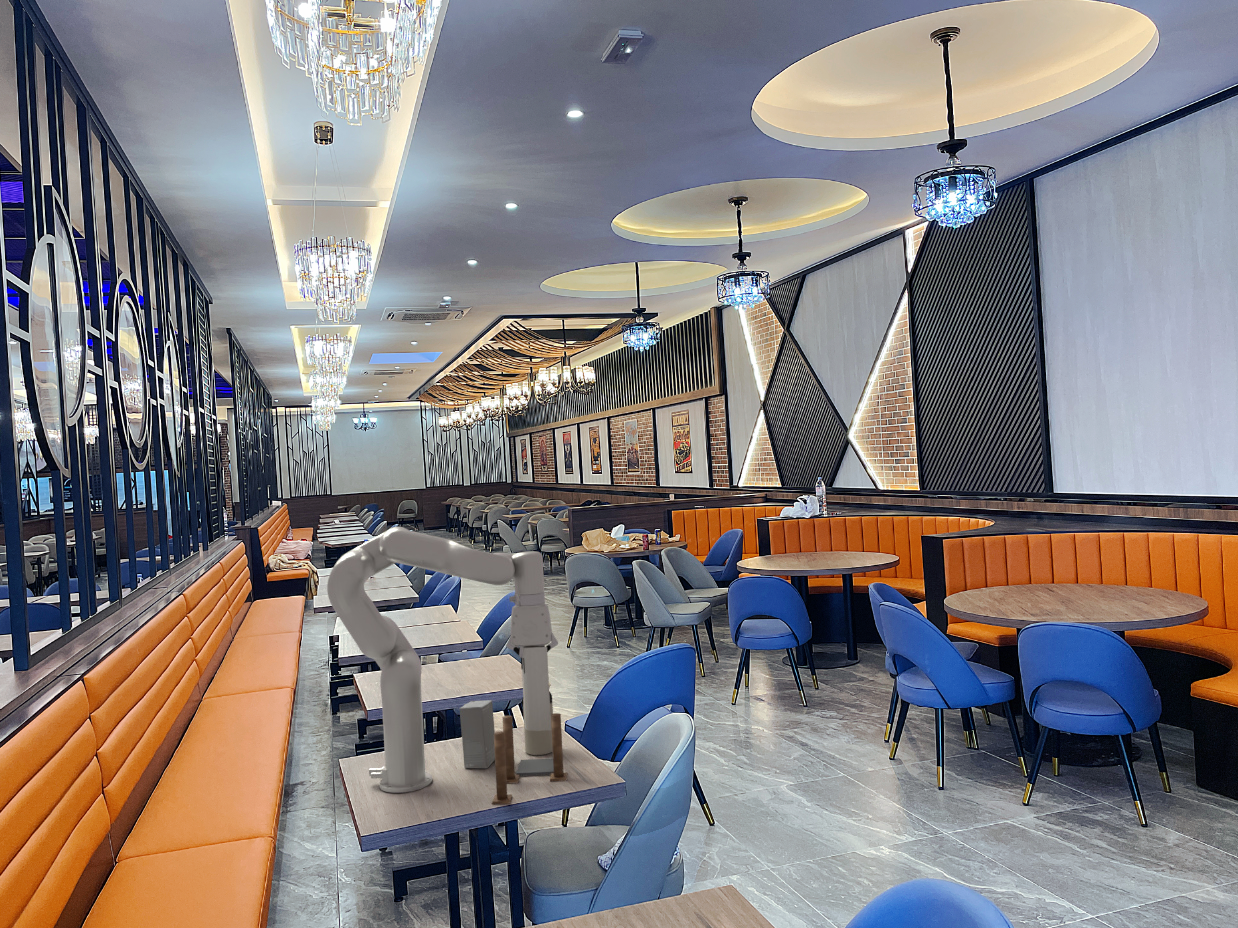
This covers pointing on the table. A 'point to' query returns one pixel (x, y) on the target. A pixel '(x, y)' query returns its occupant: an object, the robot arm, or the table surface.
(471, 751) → the skincare box
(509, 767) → the post
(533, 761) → the mat
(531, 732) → the travel mug
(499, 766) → the post
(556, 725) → the post
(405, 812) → the table surface
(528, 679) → the paper towel roll
